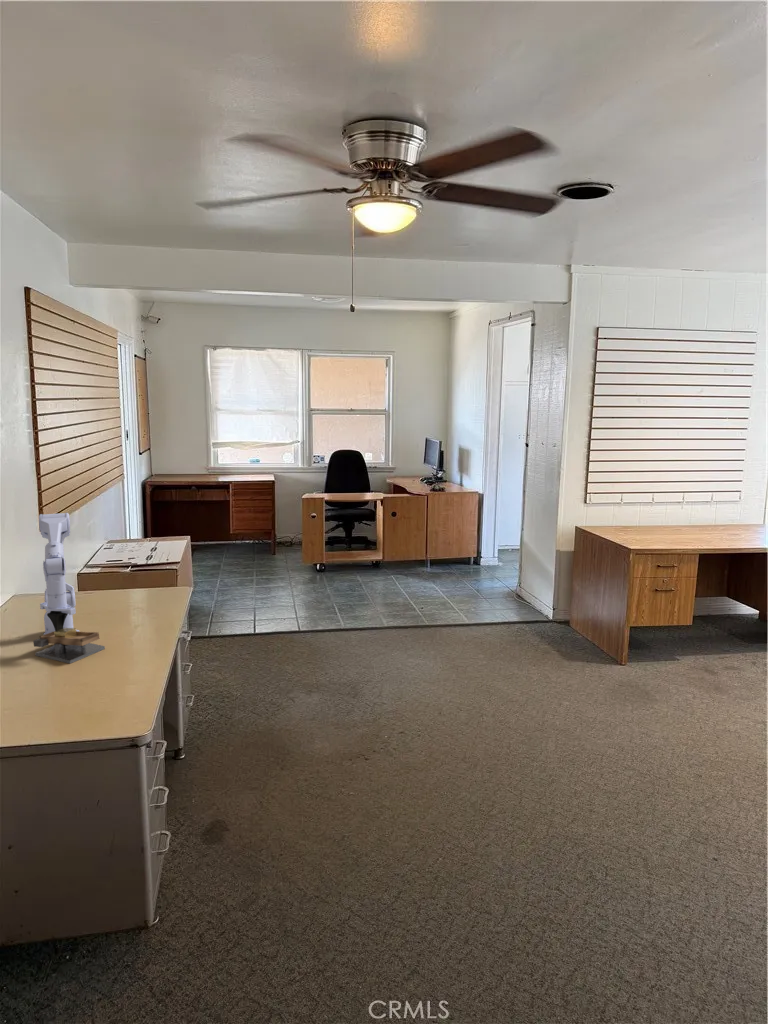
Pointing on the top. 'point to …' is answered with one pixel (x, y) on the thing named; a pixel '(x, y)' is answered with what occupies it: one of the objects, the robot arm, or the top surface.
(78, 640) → the brown wooden tray
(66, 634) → the yellow block
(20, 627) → the top surface
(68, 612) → the robot arm
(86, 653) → the pivot stand
